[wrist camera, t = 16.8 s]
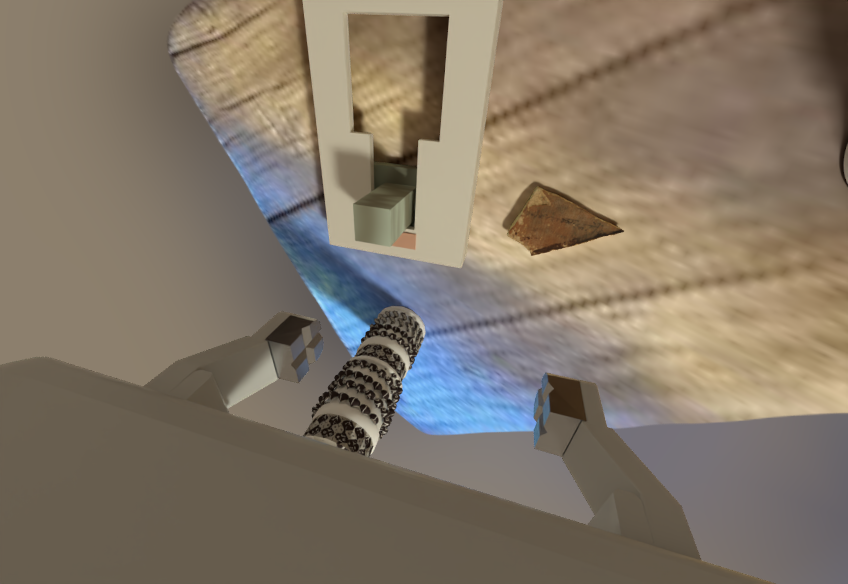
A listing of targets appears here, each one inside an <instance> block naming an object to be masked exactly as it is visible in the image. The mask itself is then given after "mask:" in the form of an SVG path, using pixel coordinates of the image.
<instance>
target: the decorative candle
mask: <svg viewBox="0 0 848 584" xmlns="http://www.w3.org/2000/svg"><path fill="white" fill-rule="evenodd" d="M374 321H375V323H376V324H375V325H373V324H371V325H370V327H371V328H370V331H367V332H366V335H365V337H363V338H362V339H361V343H362V344H360V347H359V348H358V350H357V353H356V355H355V356H354V357H353V358H351V359H350V360H349V361H348V362H347V363H346V364H345V365H344V366H343V371H340V372H339V373H338V375H336V376H335V381H333V382H332V383H331V384H330V385H329V386H328V390H329V392H325V393H323V395H322V396H320V397H319V402H320V403H317V404H316V407H313V408H312V412H313V414H312V423H311V424H310V426H309V428H308V429H307V430H306V432H305V434H304V435H303V437H306V438H310V439H313V440H316V441H319V442H322V443H326V444H329V445H332V446H335V447H338V448H342V449H345V450H348V451H351V452H354V453H358V454H361V455H364V456H367V457H369V456H370V454H372V453H373V451H374V448H375V446H376V444H377V441H378V440H380V439H381V438H382V436H383V435H385V434H386V433H387V432H388V426H389V425H390V423H391V421H392V419H391V417H392V416H394V413H395V412H394V410H395V409H396V406H397V405H396V403H397V402H398V401H399V399H400V396H399V395H400V394H401V393H402V391H403V390H402V380H403V379H404V378H405V376H406V374H407V371H408V370H410V369H411V368H412V364H413V363H414V361H415V359H414V357H416V356H417V354H418V351H419V349H420V347H421V343H422V342H423V339H424V335H425V325H424V323H423V321H422V320H421V318H420V317H419V316H418V315H417V314H416V313H415V312H413V311H412V310H410V309H408V308H405V307H403V306H390V307H387V308H384V309H383V310H382V311H381V312H380V313H379V314H378V318H377V319H374ZM335 387H336V388H335ZM334 388H335V389H334ZM327 398H329V399H328V400H327V402H326V401H325V400H326V399H327ZM324 401H325V402H324ZM383 421H384V422H383ZM379 430H382V431H379Z"/></svg>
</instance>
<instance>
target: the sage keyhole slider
mask: <svg viewBox="0 0 848 584" xmlns="http://www.w3.org/2000/svg"><path fill="white" fill-rule="evenodd" d="M416 184H417V166H409V165H401V164H393V163H385V162H377V161H374V190H373V191H372V192H370V193H369V194H367V195H366V196H364V197H363V198H361V199H360V200H358V201H357V202H355V203H353V214H354V230H355V241H360V242H365V243H371V244H376V245H382V246H388V247H391V246H392V245H393V243H394V242H395V241H396V240H397V239H398V238H399V237H400V235H401V234H402V233H403V232H404V231H405V230H406V228H407V227H408V226H412V227H415V207H416Z"/></svg>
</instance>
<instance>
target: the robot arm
mask: <svg viewBox="0 0 848 584" xmlns="http://www.w3.org/2000/svg"><path fill="white" fill-rule="evenodd" d="M844 174H845V178H846V181H847V183H848V144H847V147H846V151H845V156H844ZM320 330H321V324H320V321H318V320H316V319H312V318H309V317H304V316H301V315H297V314H292V313H288V312H284V311H281V312H279V313H277V314H276V315H275V316H274V317H273V318H272V319H270V320H269V321H268V322H267V323H266V324H265V325H264V326H263V327H261V328H260V329H259V330H258V331H257V332H256V333H255V334H253V335H252V336H251V337H250V336H246V337H243V338H240V339H237V340H234V341H231V342H229V343H226V344H223V345H220V346H218V347H215V348H212V349H209V350H206V351H203V352H200V353H198V354H195V355H192V356H189V357H187V358H183V359H181V360H178V361H176V362H175V363H173V364H172V365H170V366H169V367H168V368H167V369H165V370H164V371H163V372H161V373H160V374H159V375H158V376H156V377H155V378H154V379H152V380H151V381H150V382H148V383H147V384H146V385H145V386H140V385H136V384H133V383H130V382H127V381H123V380H120V379H117V378H114V377H111V376H107V375H104V374H101V373H98V372H94V371H91V370H88V369H85V368H82V367H79V366H75V365H72V364H69V363H66V362H63V361H60V360H57V359H53V358H49V357H34V358H30V359H25V360H20V361H15V362H10V363H6V364H2V365H0V584H775V583H772V582H769V581H766V580H762V579H759V578H756V577H753V576H749V575H746V574H743V573H740V572H737V571H733V570H730V569H727V568H724V567H721V566H717V565H714V564H711V563H707V562H704V561H701V558H700V555H699V552H698V550H697V547H696V544H695V542H694V539H693V536H692V533H691V531H690V528H689V525H688V522H687V520H686V517H685V514H684V512H683V509H682V506H681V505H680V504H679V503H678V502H677V500H676V499H675V498H674V497H673V496H672V495H671V494H670V493H669V491H668V490H667V489H666V488H665V487H664V486H663V485H662V484H661V483H660V482H659V480H658V479H657V478H656V477H655V476H654V475H653V474H652V472H651V471H650V470H649V469H648V468H647V467H646V466H645V465H644V463H643V462H642V461H641V460H640V459H639V458H638V457H637V456H636V455H635V454H634V452H633V451H632V450H631V449H630V448H629V447H628V446H627V445H626V443H624V441H623V440H622V439H621V438H620V437H619V436H618V434H617V433H616V432H615V431H614V430H613V429H612V428H608V427H607V425H606V421H605V417H604V412H603V408H602V404H601V400H600V396H599V392H598V388H597V385H596V384H595V383H591V382H587V381H582V380H577V379H573V378H568V377H564V376H559V375H555V374H550V373H545V374H544V376H543V378H542V388H541V389H539V390H538V392H537V395H536V398H535V403H534V419H535V421H536V422H537V423H536V426H535V428H534V449H538V450H541V451H545V452H548V453H551V454H554V455H557V456H561V457H562V459H563V461H564V463H565V464H566V466H567V468H568V470H569V471H570V473H571V475H572V476H573V478H574V480H575V482H576V483H577V485H578V487H579V489H580V490H581V492H582V494H583V496H584V497H585V499H586V501H587V503H588V504H589V506H590V508H591V509H592V511H593V513H594V515H595V516H594V517H593V518H592V520H591V521H590V522H589V524H588V525H586V524H583V523H579V522H576V521H573V520H570V519H566V518H563V517H560V516H557V515H554V514H550V513H547V512H544V511H541V510H538V509H534V508H531V507H528V506H524V505H522V504H518V503H515V502H512V501H509V500H506V499H502V498H499V497H496V496H493V495H490V494H486V493H483V492H480V491H477V490H473V489H470V488H467V487H464V486H460V485H457V484H454V483H451V482H447V481H444V480H441V479H438V478H435V477H431V476H428V475H425V474H422V473H419V472H415V471H412V470H409V469H406V468H403V467H399V466H396V465H393V464H390V463H386V462H383V461H380V460H377V459H373V458H370V457H367V456H364V455H361V454H358V453H354V452H351V451H348V450H345V449H342V448H338V447H335V446H332V445H329V444H326V443H322V442H319V441H316V440H313V439H310V438H306V437H303V436H300V435H296V434H293V433H290V432H287V431H284V430H280V429H277V428H274V427H271V426H268V425H265V424H261V423H258V422H255V421H252V420H248V419H245V418H242V417H239V416H236V415H233V414H230V413H229V411H228V408H229V407H231V406H233V405H234V404H236V403H238V402H240V401H241V400H243V399H245V398H247V397H248V396H250V395H252V394H253V393H255V392H257V391H259V390H260V389H262V388H264V387H266V386H267V385H269V384H271V383H272V382H274V381H276V380H277V379H278V378H279V379H283V380H288V381H292V382H296V383H299V382H300V381H301V380H302V379H303V377H304V376H305V375H306V373H307V372H308V371H309V364H312V363H314V362H316V361H317V359H318V358H319V357H320V355H321V352H322V350H323V343H324V342H323V337H322V336H321V335H320V333H319V331H320Z"/></svg>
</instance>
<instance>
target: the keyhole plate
mask: <svg viewBox="0 0 848 584" xmlns="http://www.w3.org/2000/svg"><path fill="white" fill-rule="evenodd" d="M502 6H503V0H303V9H304V18H305V27H306V36H307V45H308V54H309V63H310V71H311V80H312V89H313V98H314V107H315V116H316V125H317V134H318V143H319V152H320V160H321V169H322V178H323V187H324V196H325V205H326V214H327V223H328V232H329V241H330V245H336V246H341V247H347V248H353V249H358V250H364V251H369V252H375V253H380V254H386V255H391V256H397V257H402V258H408V259H413V260H419V261H424V262H430V263H435V264H441V265H446V266H452V267H457V268H461V267H462V265H463V262H464V259H465V257H466V253H467V246H468V239H469V233H470V226H471V219H472V212H473V205H474V198H475V191H476V184H477V178H478V171H479V164H480V157H481V150H482V143H483V136H484V129H485V123H486V116H487V109H488V102H489V95H490V88H491V81H492V75H493V68H494V61H495V54H496V47H497V40H498V33H499V26H500V20H501V13H502ZM348 14H375V15H408V16H442V17H449V26H448V39H447V52H446V65H445V78H444V91H443V104H442V116H441V129H440V141H439V140H430V139H419V140H418V162H417V184H416V207H415V227H412V226H408V227H407V228H406V230H405V231H404V232H403V233H402V234H401V235H400V237H399V238H398V239H397V240H396V241H395V242H394V243H393V245H392V246H391V247H388V246H382V245H376V244H371V243H365V242H360V241H355V230H354V214H353V203H355V202H357V201H358V200H360V199H361V198H363V197H364V196H366V195H367V194H369V193H370V192H372V191H373V190H374V153H373V133H363V132H354V120H353V102H352V84H351V66H350V48H349V30H348Z"/></svg>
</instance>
